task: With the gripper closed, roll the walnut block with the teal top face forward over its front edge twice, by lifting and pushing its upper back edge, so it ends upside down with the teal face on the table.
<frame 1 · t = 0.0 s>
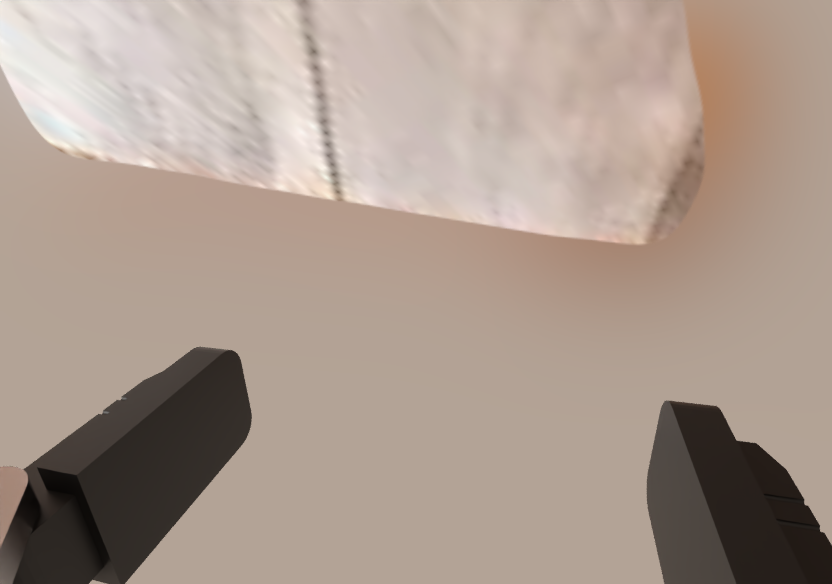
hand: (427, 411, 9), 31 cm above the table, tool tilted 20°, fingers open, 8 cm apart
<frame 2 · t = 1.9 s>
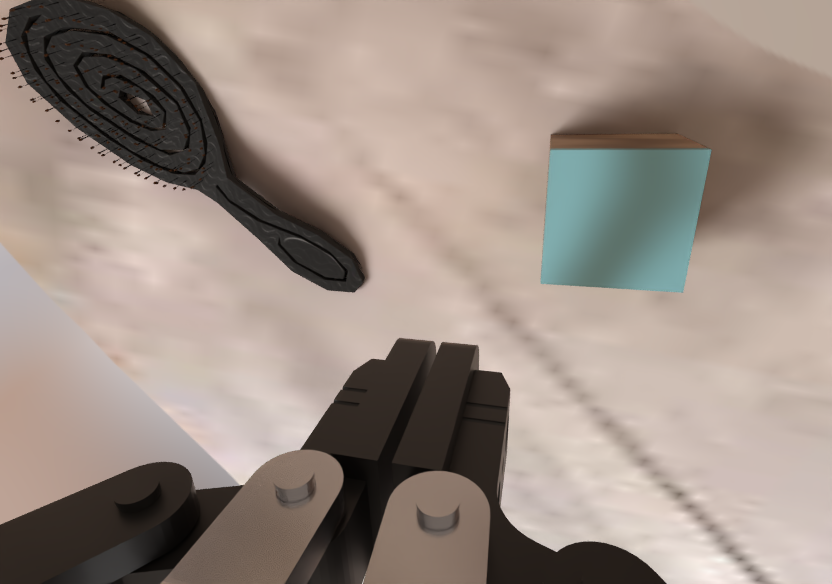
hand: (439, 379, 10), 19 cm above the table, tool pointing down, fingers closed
two tone block: (604, 192, 26), on the table
hairbrush: (216, 157, 31), on the table
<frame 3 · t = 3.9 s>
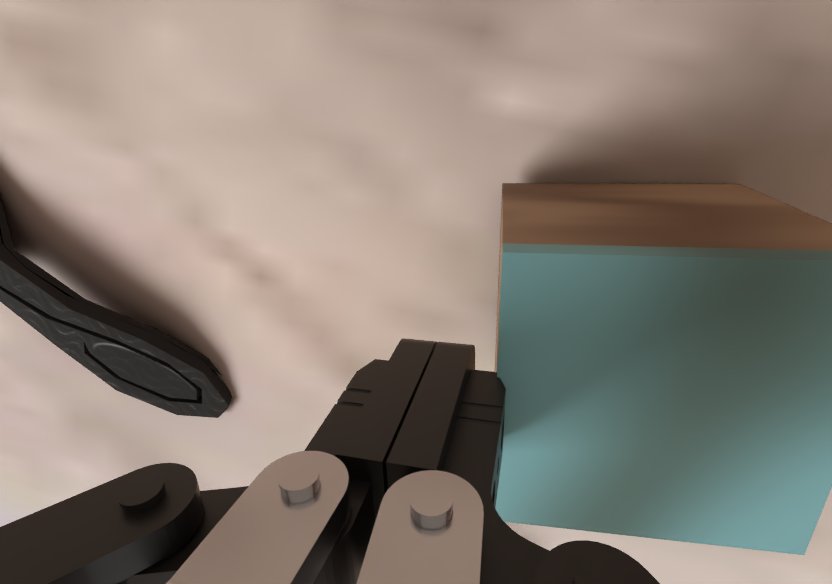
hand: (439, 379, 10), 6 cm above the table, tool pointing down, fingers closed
two tone block: (602, 287, 14), on the table, tilted 6°, touching gripper
hairbrush: (3, 214, 20), on the table
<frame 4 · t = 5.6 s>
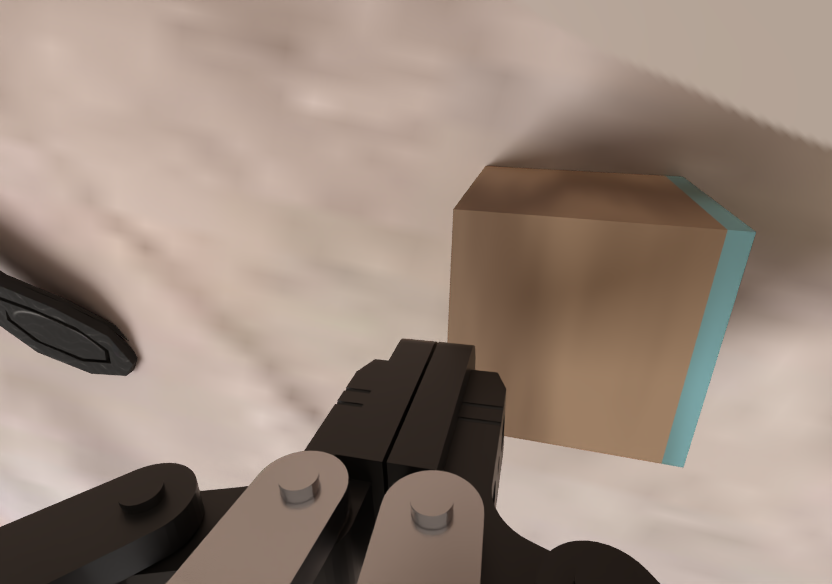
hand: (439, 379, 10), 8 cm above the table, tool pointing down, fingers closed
two tone block: (466, 282, 15), point 3 cm above the table, tilted 90°
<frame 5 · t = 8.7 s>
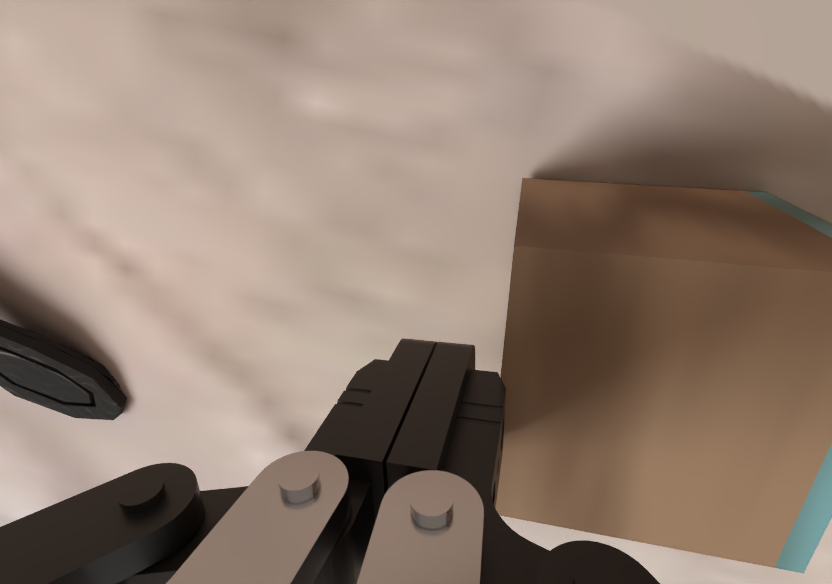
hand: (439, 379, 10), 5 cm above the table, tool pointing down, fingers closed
two tone block: (506, 324, 12), point 3 cm above the table, tilted 92°, touching gripper
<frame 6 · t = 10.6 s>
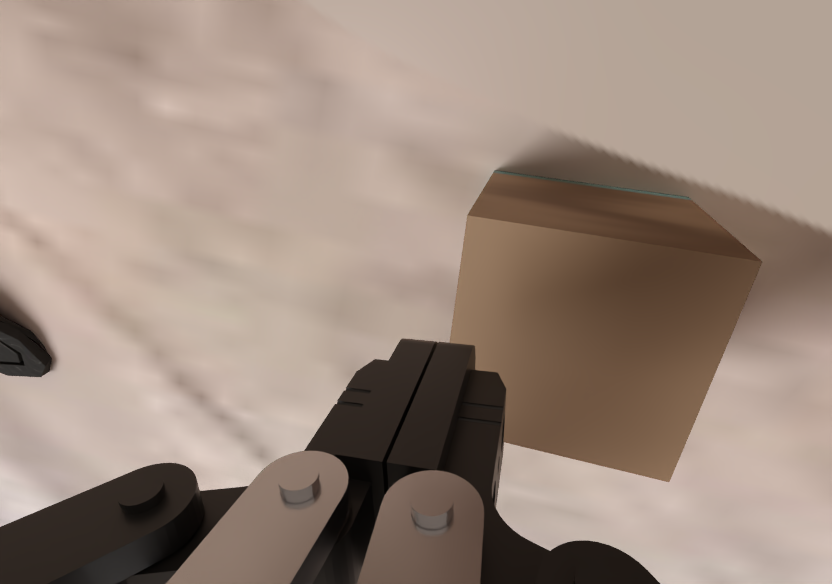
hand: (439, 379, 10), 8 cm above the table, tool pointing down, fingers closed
two tone block: (574, 356, 12), point 6 cm above the table, tilted 180°
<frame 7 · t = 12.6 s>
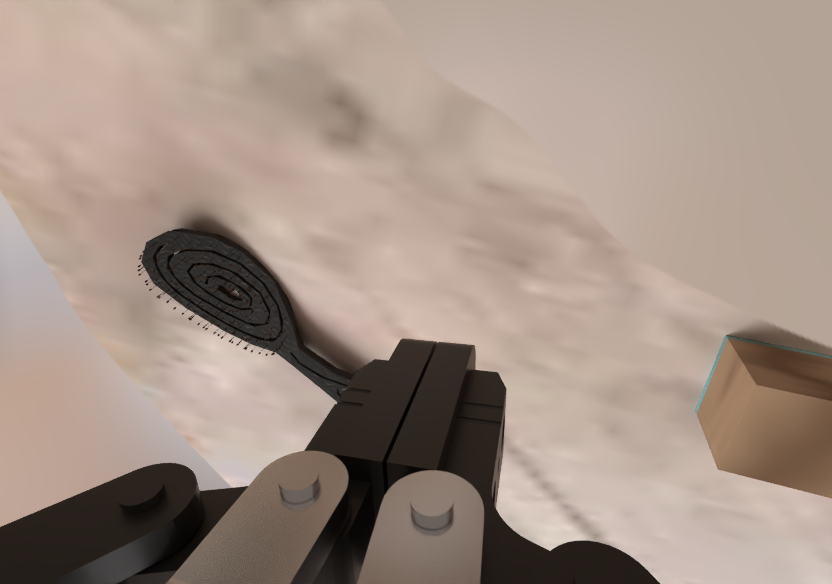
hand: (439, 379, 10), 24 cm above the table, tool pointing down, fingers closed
two tone block: (796, 443, 27), point 6 cm above the table, tilted 180°
hairbrush: (287, 325, 42), on the table
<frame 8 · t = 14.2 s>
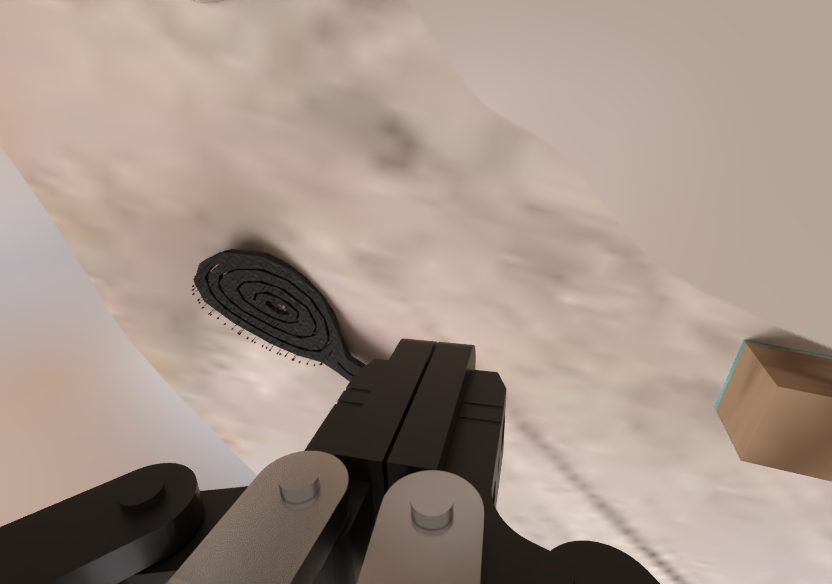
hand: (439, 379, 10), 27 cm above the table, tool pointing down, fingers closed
two tone block: (811, 436, 30), point 6 cm above the table, tilted 180°
hairbrush: (331, 336, 45), on the table
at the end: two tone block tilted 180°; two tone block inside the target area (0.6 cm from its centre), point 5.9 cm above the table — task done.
